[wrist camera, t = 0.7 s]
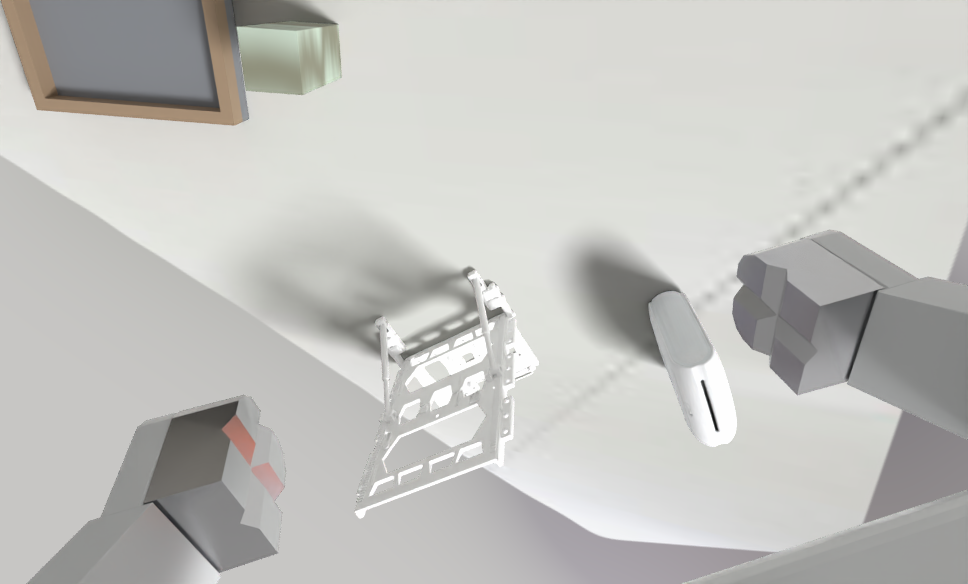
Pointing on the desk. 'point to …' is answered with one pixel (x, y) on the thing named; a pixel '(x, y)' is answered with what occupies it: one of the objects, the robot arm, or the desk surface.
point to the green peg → (289, 56)
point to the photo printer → (693, 369)
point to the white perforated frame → (449, 396)
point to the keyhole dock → (132, 58)
